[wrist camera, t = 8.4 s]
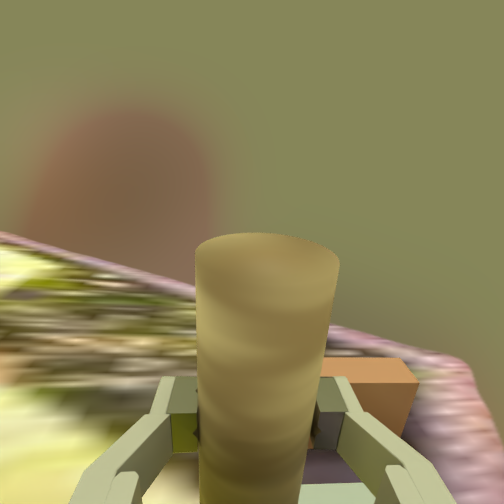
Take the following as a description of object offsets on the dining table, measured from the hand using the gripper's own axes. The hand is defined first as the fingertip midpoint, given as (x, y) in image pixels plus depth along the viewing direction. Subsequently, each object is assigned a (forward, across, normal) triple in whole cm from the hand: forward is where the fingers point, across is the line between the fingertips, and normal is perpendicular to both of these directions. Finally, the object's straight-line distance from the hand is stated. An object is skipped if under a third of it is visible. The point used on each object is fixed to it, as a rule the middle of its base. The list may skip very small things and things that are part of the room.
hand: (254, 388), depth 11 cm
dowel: (-1, 0, +8) cm, 8 cm away
